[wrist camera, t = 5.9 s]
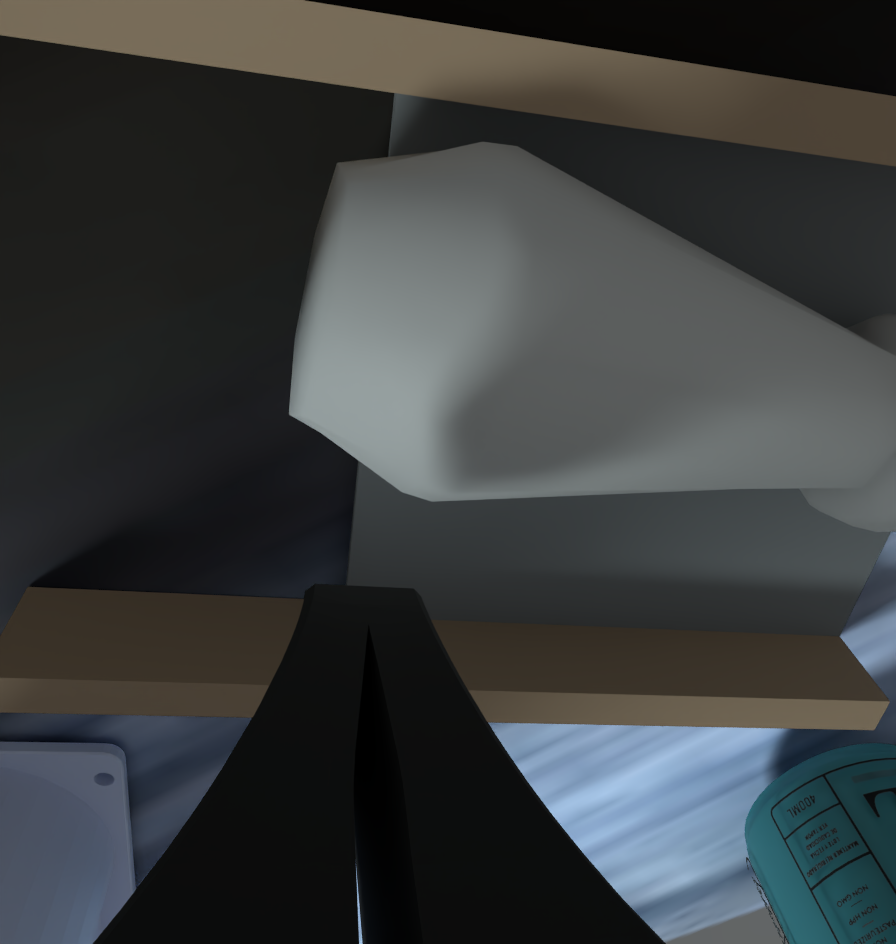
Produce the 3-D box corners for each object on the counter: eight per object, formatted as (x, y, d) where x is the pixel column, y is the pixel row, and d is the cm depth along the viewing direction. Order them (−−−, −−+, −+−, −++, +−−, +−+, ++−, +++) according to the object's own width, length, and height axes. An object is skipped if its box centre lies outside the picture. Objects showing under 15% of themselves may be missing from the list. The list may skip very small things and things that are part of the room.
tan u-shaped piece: (815, 649, 23) (874, 730, 20) (32, 619, 20) (-16, 712, 17) (1065, 124, 16) (1200, 146, 14) (-64, -59, 13) (-168, -77, 10)
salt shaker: (329, 126, 15) (881, 287, 19) (272, 428, 16) (800, 518, 20) (388, 66, 9) (1149, 311, 13) (295, 530, 10) (1014, 626, 14)
